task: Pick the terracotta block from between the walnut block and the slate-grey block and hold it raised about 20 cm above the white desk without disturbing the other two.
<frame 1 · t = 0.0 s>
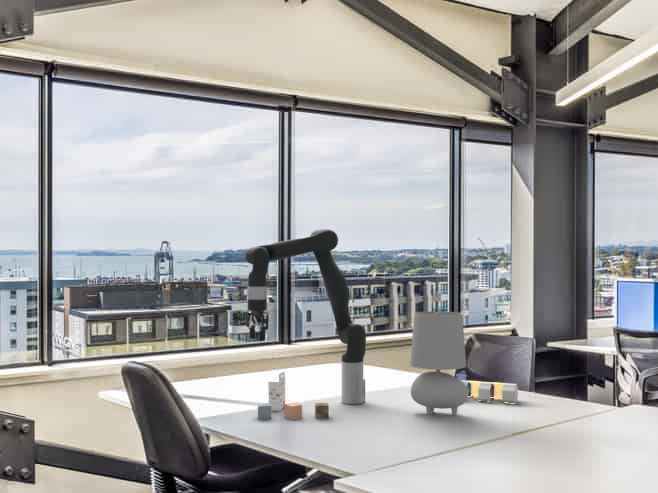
hand: (257, 339, 283), 29 cm above the table, fingers open, 8 cm apart
diorama: (486, 401, 311), on the table
slate block: (264, 417, 278), on the table
terracotta block: (293, 417, 278), on the table
table lamp: (439, 414, 284), on the table
walnut block: (321, 417, 279), on the table
ink cartridge box: (276, 409, 294), on the table
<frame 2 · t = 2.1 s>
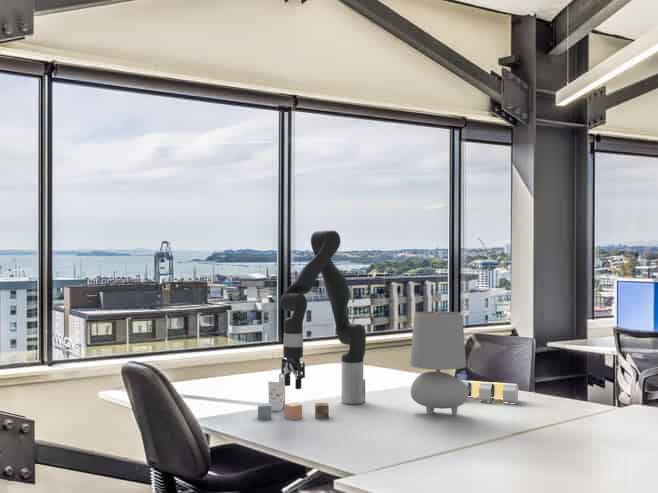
hand: (292, 387, 278), 11 cm above the table, fingers open, 8 cm apart
nothing on the table moved.
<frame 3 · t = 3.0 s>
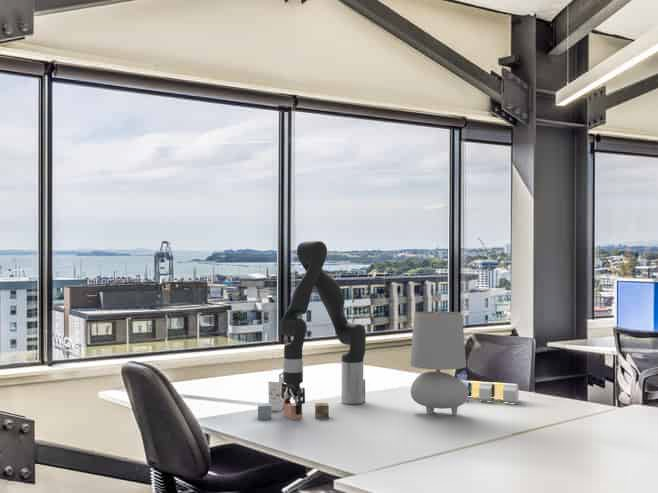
hand: (292, 412, 278), 2 cm above the table, fingers open, 8 cm apart
nothing on the table moved.
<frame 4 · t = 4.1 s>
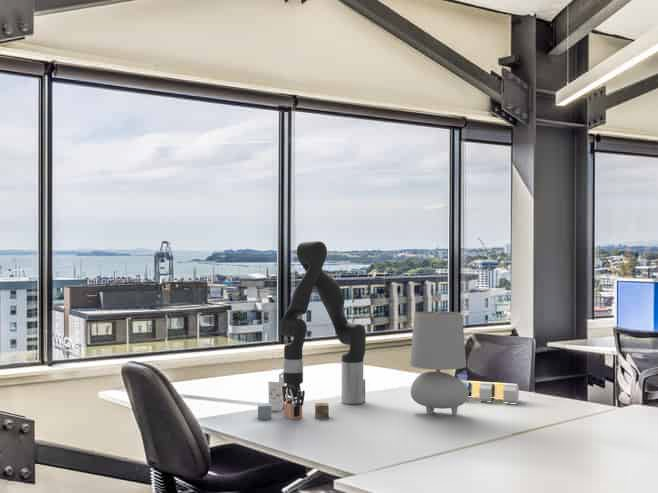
hand: (293, 414, 278), 1 cm above the table, fingers closed on terracotta block, 5 cm apart
terracotta block: (293, 417, 278), on the table, touching gripper
everything else where it was.
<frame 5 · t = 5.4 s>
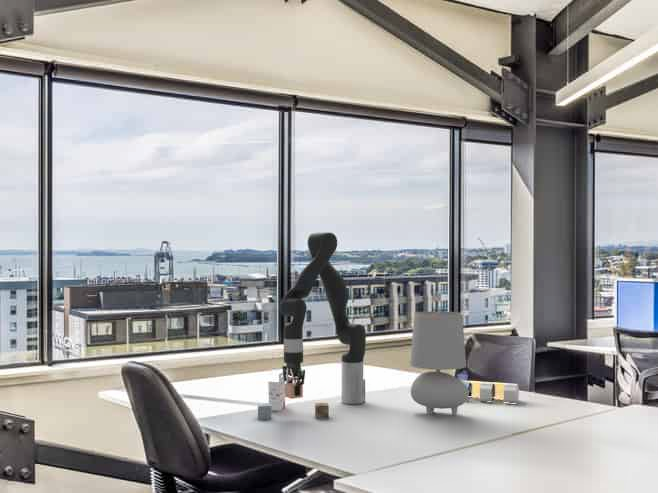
hand: (293, 394, 279), 9 cm above the table, fingers closed on terracotta block, 5 cm apart
terracotta block: (293, 396, 279), point 8 cm above the table, touching gripper
everything else where it was.
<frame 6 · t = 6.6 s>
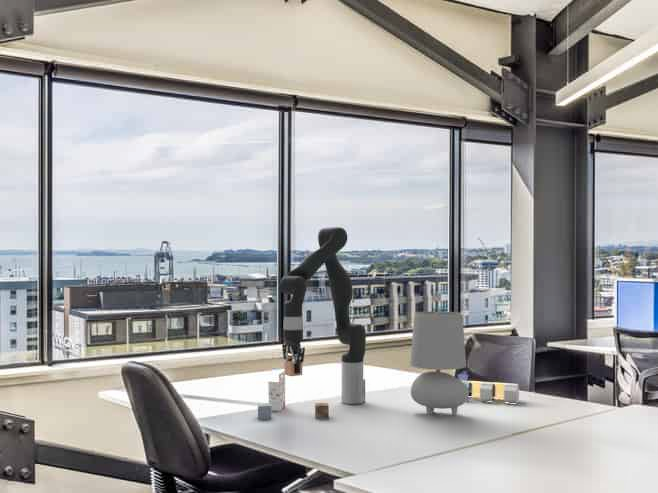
hand: (293, 372, 279), 17 cm above the table, fingers closed on terracotta block, 5 cm apart
terracotta block: (293, 374, 279), point 16 cm above the table, touching gripper
everything else where it was.
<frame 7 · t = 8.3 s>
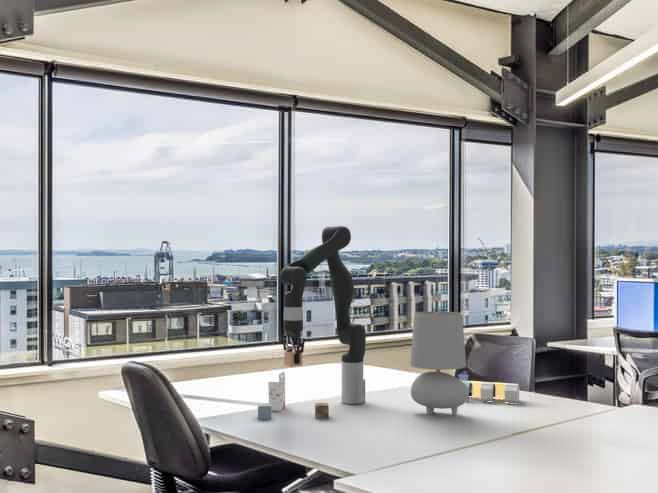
hand: (293, 362, 279), 21 cm above the table, fingers closed on terracotta block, 5 cm apart
terracotta block: (293, 365, 279), point 20 cm above the table, touching gripper
everything else where it was.
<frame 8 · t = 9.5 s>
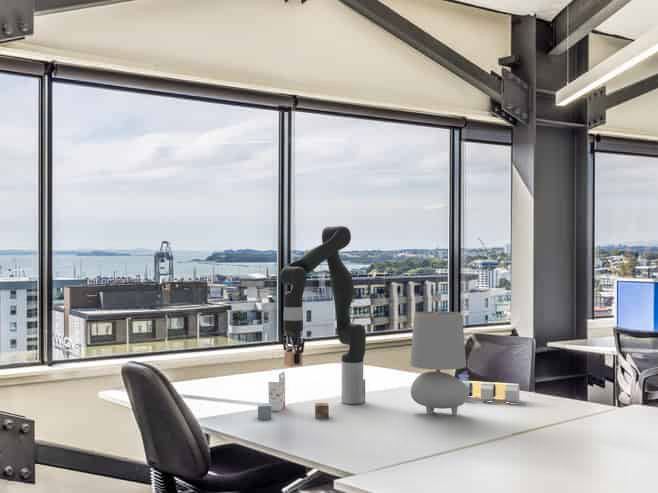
hand: (293, 362, 279), 21 cm above the table, fingers closed on terracotta block, 5 cm apart
terracotta block: (293, 365, 279), point 20 cm above the table, touching gripper
everything else where it was.
at the end: terracotta block point 19.8 cm above the table; walnut block moved 0.1 cm from its start; slate block moved 0.1 cm from its start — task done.
